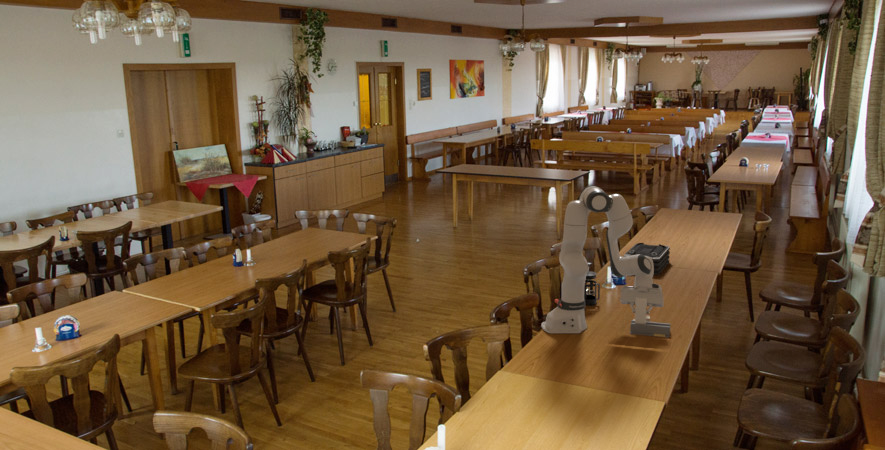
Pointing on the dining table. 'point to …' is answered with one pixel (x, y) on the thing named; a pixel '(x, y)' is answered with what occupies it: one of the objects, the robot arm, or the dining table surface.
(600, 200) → the robot arm
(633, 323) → the rack
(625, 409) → the dining table surface
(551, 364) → the dining table surface
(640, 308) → the plank
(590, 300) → the french press
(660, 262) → the container
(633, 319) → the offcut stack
